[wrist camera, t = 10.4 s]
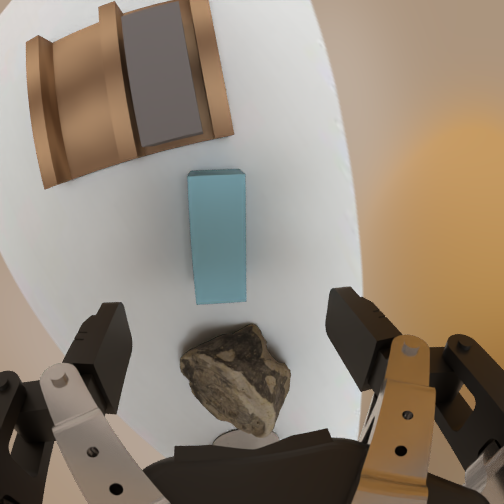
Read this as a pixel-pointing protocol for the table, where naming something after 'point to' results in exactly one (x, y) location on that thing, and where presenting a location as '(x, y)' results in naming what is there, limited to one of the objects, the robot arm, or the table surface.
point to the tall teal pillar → (218, 234)
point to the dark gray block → (160, 75)
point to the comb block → (111, 94)
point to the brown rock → (238, 380)
